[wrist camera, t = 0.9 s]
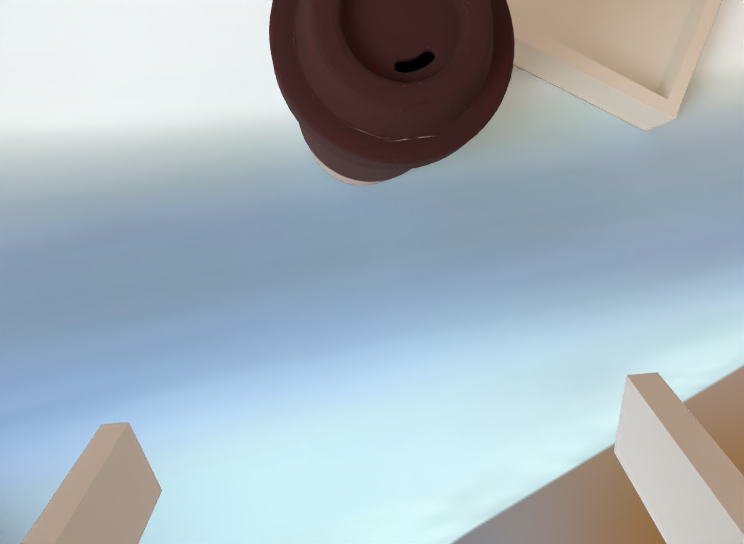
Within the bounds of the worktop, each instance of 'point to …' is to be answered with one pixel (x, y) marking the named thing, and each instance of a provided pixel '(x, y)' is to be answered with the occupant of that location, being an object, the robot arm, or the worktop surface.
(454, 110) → the coffee cup
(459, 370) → the worktop surface
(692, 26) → the tray
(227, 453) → the worktop surface
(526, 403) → the worktop surface
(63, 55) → the worktop surface
